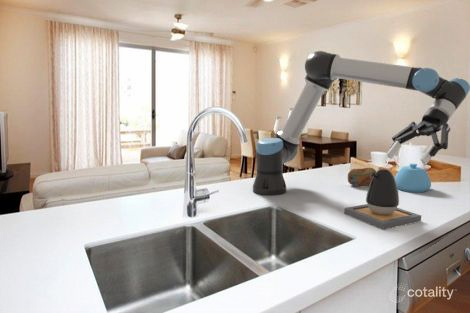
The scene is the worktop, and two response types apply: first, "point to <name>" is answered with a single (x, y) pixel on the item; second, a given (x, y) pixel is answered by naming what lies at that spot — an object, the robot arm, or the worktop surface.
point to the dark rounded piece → (382, 193)
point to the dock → (379, 223)
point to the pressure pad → (382, 217)
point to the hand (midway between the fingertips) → (405, 159)
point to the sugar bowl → (413, 179)
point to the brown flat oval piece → (360, 176)
